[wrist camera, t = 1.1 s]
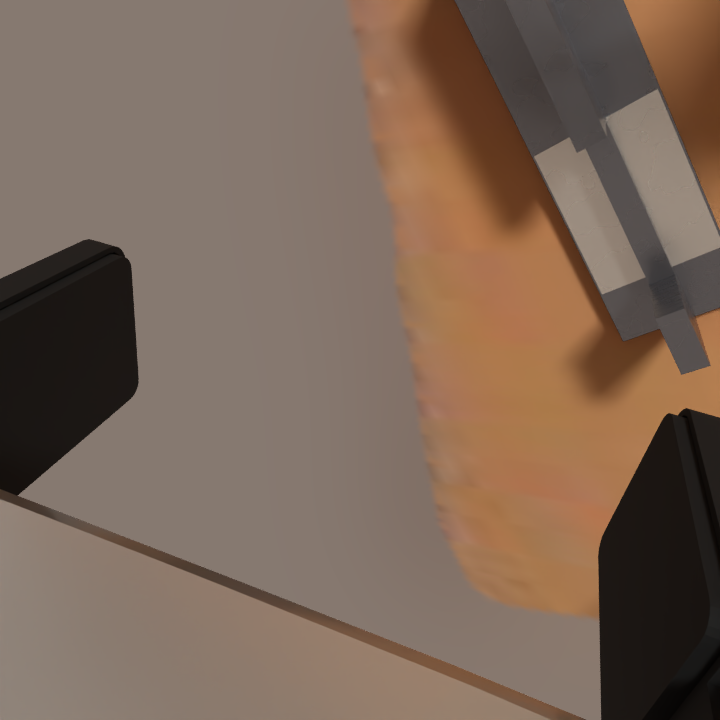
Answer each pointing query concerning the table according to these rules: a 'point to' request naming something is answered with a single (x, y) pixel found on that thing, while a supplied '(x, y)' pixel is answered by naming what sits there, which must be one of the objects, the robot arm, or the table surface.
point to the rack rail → (608, 159)
